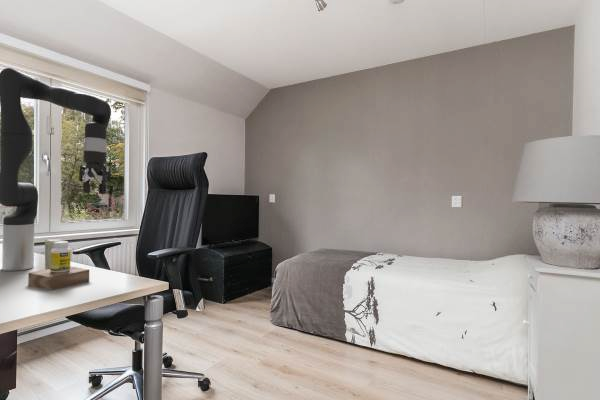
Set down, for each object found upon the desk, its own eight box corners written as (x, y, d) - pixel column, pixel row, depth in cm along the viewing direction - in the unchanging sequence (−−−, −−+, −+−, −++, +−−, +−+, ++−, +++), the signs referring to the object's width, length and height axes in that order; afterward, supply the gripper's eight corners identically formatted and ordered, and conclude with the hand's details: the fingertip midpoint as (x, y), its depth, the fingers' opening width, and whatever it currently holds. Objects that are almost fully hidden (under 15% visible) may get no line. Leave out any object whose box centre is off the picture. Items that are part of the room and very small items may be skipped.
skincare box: (65, 272, 124) (65, 240, 124) (51, 274, 121) (52, 241, 120) (57, 269, 128) (58, 238, 128) (44, 272, 124) (44, 239, 124)
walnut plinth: (28, 284, 107) (28, 272, 107) (66, 276, 119) (66, 265, 118) (51, 290, 103) (51, 277, 103) (89, 281, 114) (89, 269, 114)
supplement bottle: (59, 273, 108) (60, 243, 107) (46, 272, 109) (46, 242, 108) (74, 269, 113) (74, 241, 113) (61, 268, 114) (61, 240, 114)
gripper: (72, 149, 125) (71, 192, 125) (99, 149, 119) (97, 194, 120) (92, 152, 132) (91, 193, 132) (117, 151, 126) (116, 194, 127)
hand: (94, 193), depth 126 cm, fingers open, 8 cm apart
